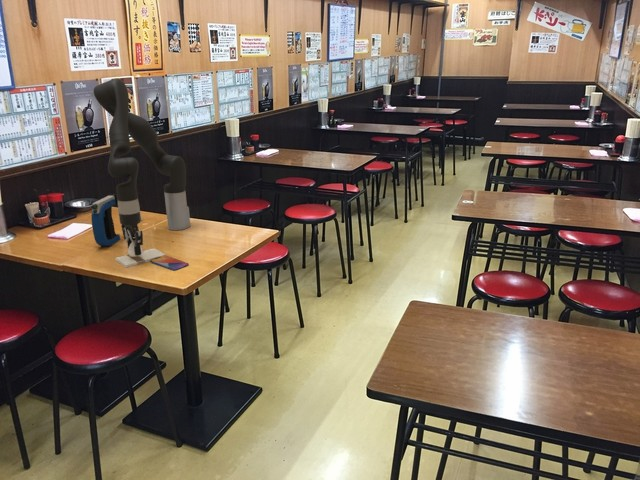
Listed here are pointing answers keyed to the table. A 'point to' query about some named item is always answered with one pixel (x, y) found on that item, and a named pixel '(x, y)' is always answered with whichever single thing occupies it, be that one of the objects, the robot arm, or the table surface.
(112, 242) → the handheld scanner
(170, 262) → the smartphone
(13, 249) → the table surface
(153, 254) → the white panel
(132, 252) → the garlic bulb
